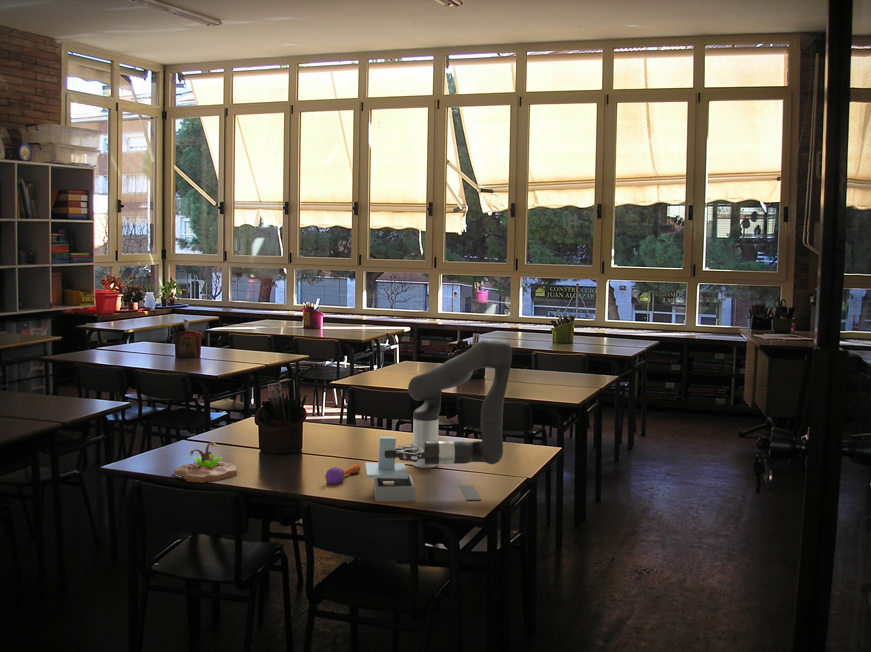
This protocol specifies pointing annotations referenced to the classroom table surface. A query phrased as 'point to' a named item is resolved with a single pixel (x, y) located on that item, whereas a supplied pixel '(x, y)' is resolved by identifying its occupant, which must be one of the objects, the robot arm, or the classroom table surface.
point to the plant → (206, 468)
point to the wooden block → (388, 483)
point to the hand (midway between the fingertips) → (384, 453)
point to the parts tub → (394, 489)
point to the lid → (386, 462)
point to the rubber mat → (469, 492)
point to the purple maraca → (340, 473)
